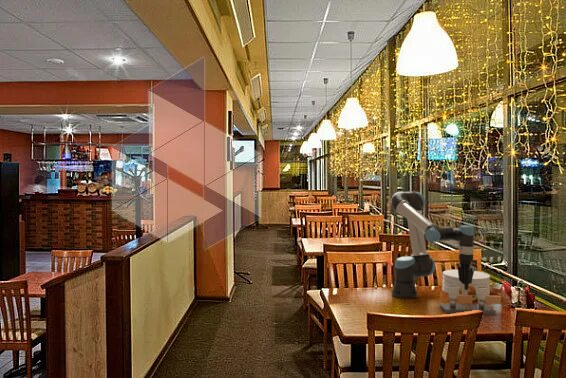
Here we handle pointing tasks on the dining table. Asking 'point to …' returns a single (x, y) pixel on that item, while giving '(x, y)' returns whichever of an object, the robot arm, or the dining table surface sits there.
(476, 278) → the plate stack
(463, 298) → the coupling
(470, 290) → the cheeseburger
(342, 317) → the dining table surface
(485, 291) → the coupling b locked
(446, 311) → the lock plate
